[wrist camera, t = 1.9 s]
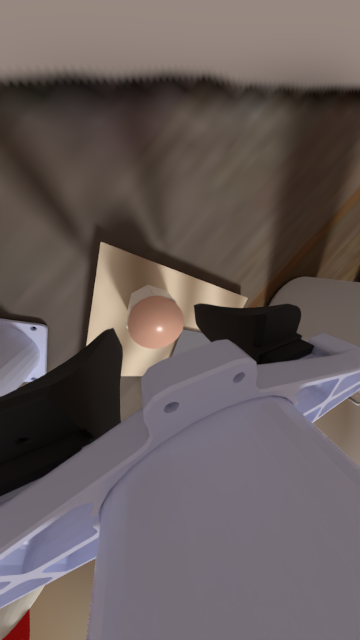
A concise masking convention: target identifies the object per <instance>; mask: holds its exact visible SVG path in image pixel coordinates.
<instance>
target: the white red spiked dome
mask: <svg viewBox="0 0 360 640" xmlns="http://www.w3.org/2000/svg"><path fill="white" fill-rule="evenodd" d="M43 587H44V586H42V587H40V588H38V589H36V590H34V591H33V592H31V593H29V594H27V595H25V596H23V597H21V598H20V599H18V600H16V601H14V602H12V603H10V604H9V605H7V606H5V607H3V608H1V609H0V640H29V636H30V635H29V633H30V621H29V620H30V618H29V609H30V607H31V606H32V604H33V603H34V601H35V600H36V598H37V597H38V595H39V594H40V592H41V590H42V589H43Z"/></svg>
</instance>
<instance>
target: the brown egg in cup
mask: <svg viewBox="0 0 360 640" xmlns="http://www.w3.org/2000/svg"><path fill="white" fill-rule="evenodd" d="M126 327H127V329H128V331H129V334H130V336H131V338H132V339H133V340H134V341H135V342H136V343H137V344H138V345H140V346H142V347H145V348H150V349H157V348H162V347H165V346H167V345H169V344H171V343H172V342H174V341H175V340H176V339H177V338H178V337H179V335H180V334H181V332H182V330H183V327H184V316H183V313H182V311H181V309H180V308H179V306H178V305H177V303H176V301H175V299H173V298H172V297H171V296H170V295H169V294H168V293H167V292H166V291H165V290H163V289H160V288H157V287H154V286H150V285H146V286H144V287H142V288H141V289H139V290H137V291H135V292H133V293H132V294H131V297H130V301H129V305H128V310H127V322H126Z"/></svg>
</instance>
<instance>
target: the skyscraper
mask: <svg viewBox="0 0 360 640" xmlns="http://www.w3.org/2000/svg"><path fill="white" fill-rule="evenodd" d="M353 395H354V396H357V397H359V398H360V390H359V391H357V392H356V393H354V394H353ZM347 399H348V400H350V401H351V402H353V403H354V404H356V405H359V406H360V403H359V402H357V401H356V400H354V399H352V398H351V397H348V398H347Z"/></svg>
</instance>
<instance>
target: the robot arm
mask: <svg viewBox="0 0 360 640" xmlns="http://www.w3.org/2000/svg"><path fill="white" fill-rule="evenodd" d="M194 312H195V321H196V325H197V326H198V328H199V329H200V331H201V332H202V333H203V334H204V335H205V336H206V337H207V339H208V340H209V341H210V342H211V343H208V344H205V345H203V346H200V347H197V348H194V349H191V350H189V351H186V352H183V353H180V354H178V355H175V356H172V357H169V358H166V359H164V360H161V361H159V362H158V363H156V364H154V365H153V366H151V367H149V368H148V369H147V371H146V372H145V374H144V375H143V377H142V378H141V390H142V404H143V407H142V408H141V409H139V410H138V411H137V412H135V413H134V414H132V415H131V416H129V417H128V418H127V419H125V420H124V421H122V422H121V420H120V377H121V369H122V361H123V347H122V345H121V343H120V341H119V338H118V336H117V334H116V332H115V330H114V328H111V329H107V330H105V331H103V332H102V333H101V334H100V335H98V336H97V337H96V338H95V339H94V340H93V341H92V342H91V343H89V344H88V345H87V346H86V347H85V348H83V349H82V350H81V351H80V352H79V353H77V354H76V355H75V356H73V357H72V358H70V359H69V360H67V361H66V362H64V363H63V364H61V365H60V366H58V367H56V368H55V369H53V370H52V371H50V372H48V373H47V374H46V367H47V333H48V328H47V326H46V325H44V324H39V323H31V322H23V321H16V320H8V319H1V318H0V609H1V608H3V607H5V606H7V605H9V604H10V603H12V602H14V601H16V600H18V599H20V598H21V597H23V596H25V595H27V594H29V593H31V592H33V591H34V590H36V589H38V588H40V587H42V586H44V585H46V584H48V583H50V582H51V581H53V580H55V579H57V578H59V577H61V576H63V575H65V574H66V573H68V572H70V571H72V570H74V569H76V568H78V567H80V566H82V565H84V564H85V563H87V562H89V561H91V560H93V559H95V558H96V563H95V572H94V580H93V588H92V596H91V605H90V613H89V622H88V630H87V639H86V640H360V467H359V466H358V465H357V464H356V463H355V462H354V461H353V460H352V459H351V458H350V457H349V456H347V455H346V454H345V453H344V452H343V451H342V450H341V449H340V448H339V447H338V446H337V445H336V444H335V443H333V442H332V441H331V440H330V439H329V438H328V437H327V436H326V435H325V434H324V433H323V432H321V431H320V430H319V429H318V428H317V427H316V426H315V425H314V424H313V422H314V421H316V420H317V419H318V418H320V417H321V416H323V415H324V414H325V413H327V412H328V411H329V410H331V409H332V408H333V407H335V406H336V405H338V404H339V403H341V402H342V401H344V400H345V399H346V398H348V397H350V396H351V395H353V394H354V393H356V392H357V391H359V390H360V347H358V346H356V345H353V344H351V343H348V342H345V341H343V340H340V339H338V338H335V337H333V336H330V335H328V334H325V333H320V334H318V335H316V336H313V337H311V338H309V339H308V340H307V341H304V340H302V339H301V338H302V335H300V334H298V333H297V330H298V326H299V323H300V320H301V310H300V308H299V307H298V306H295V305H292V304H280V305H274V306H267V307H256V308H231V307H222V306H216V305H210V304H203V303H199V304H196V305H194ZM33 327H36V328H37V329H34V328H33ZM34 377H35V378H34ZM22 382H30V383H28V384H26V385H24V386H22V387H20V388H18V387H19V386H20V385H21V384H22ZM17 388H18V389H17Z"/></svg>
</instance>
